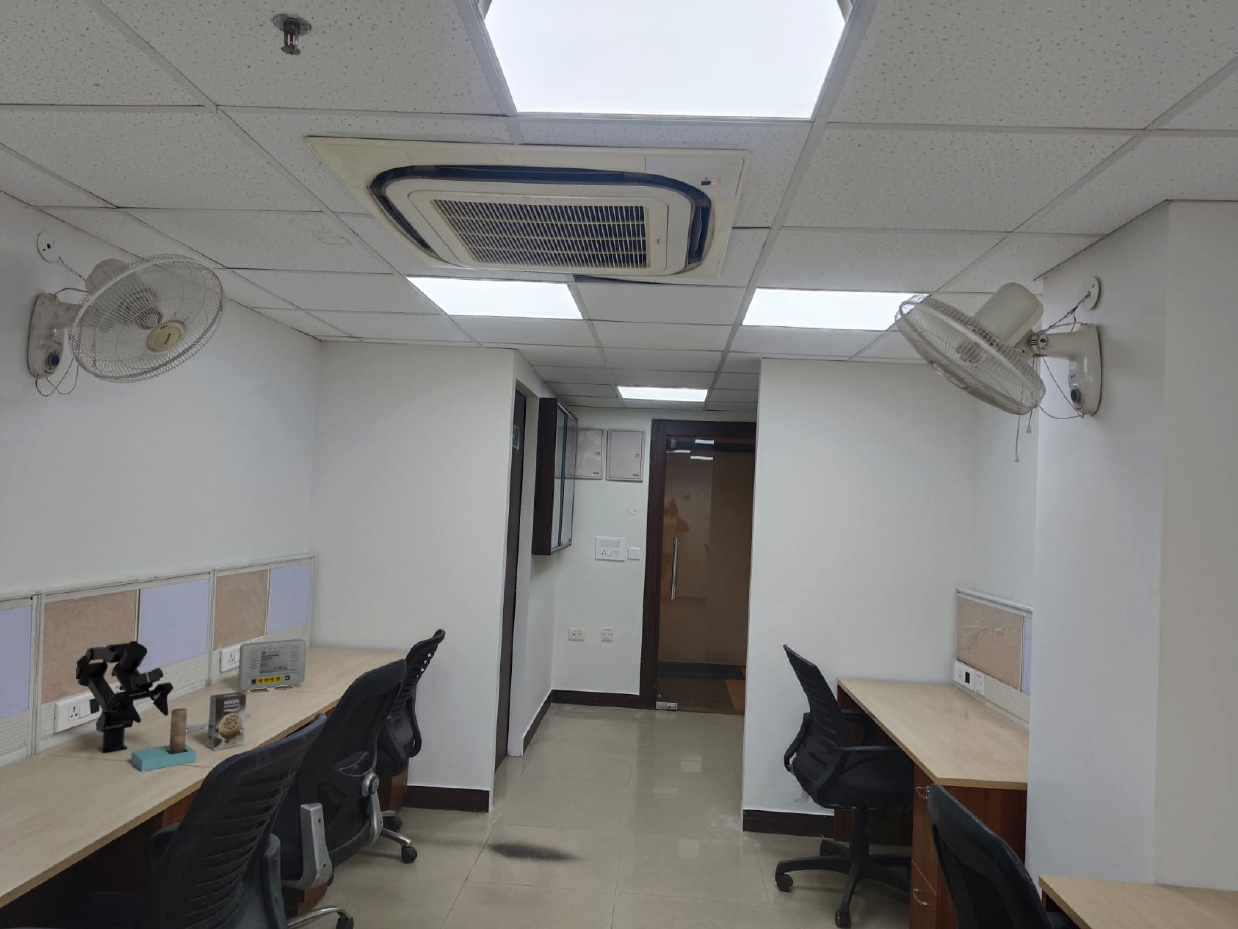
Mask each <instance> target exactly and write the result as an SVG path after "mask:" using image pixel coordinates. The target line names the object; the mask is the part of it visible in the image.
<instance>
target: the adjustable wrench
mask: <svg viewBox="0 0 1238 929" xmlns="http://www.w3.org/2000/svg"><path fill="white" fill-rule="evenodd" d="M251 716H252V715H251V714H245V719H246V718H250V717H251ZM250 719H251V718H250ZM246 720H247V719H246ZM206 727H209V722H206V723H200V724H190V725H189V724H188V725H186V729H188V731H187V733H188V732H195V733H197V732H196V731H199V732H201V731H200V730H202V731H204V730H205V729H204V728H206ZM189 728H190V729H189ZM203 729H204V730H203ZM206 729H207V728H206Z"/></svg>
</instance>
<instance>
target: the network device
mask: <svg viewBox="0 0 1238 929" xmlns="http://www.w3.org/2000/svg"><path fill="white" fill-rule="evenodd" d="M306 653H307V642H306V640H304V639H301V638H297V639H296V638H295V639H283V640H272V641H270V640H269V641H260V642H259V641H258V642H246V643H245V642H244V643H242V644H241V645H240V647H239V658H238V659H239V660H238V675H237V677H238V678H237V685H238V688H239V689H241V690H245V691H247V690H248V689H254V688H263V687H267V688H276V686H280V685H295V684H296V685H297V684H303V683H304V682H305V677H306V676H305V675H306V657H307V654H306ZM276 689H277V688H276Z"/></svg>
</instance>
